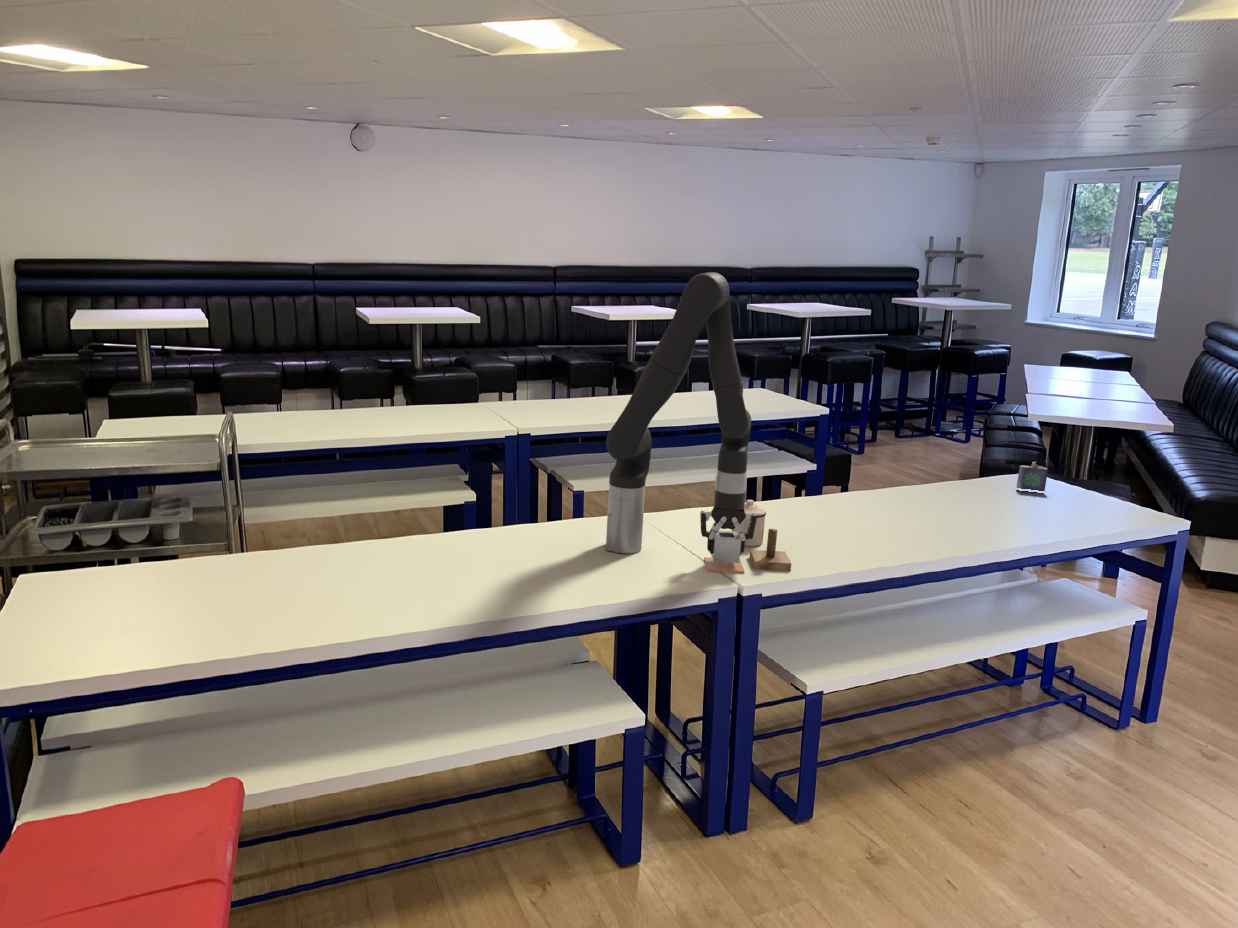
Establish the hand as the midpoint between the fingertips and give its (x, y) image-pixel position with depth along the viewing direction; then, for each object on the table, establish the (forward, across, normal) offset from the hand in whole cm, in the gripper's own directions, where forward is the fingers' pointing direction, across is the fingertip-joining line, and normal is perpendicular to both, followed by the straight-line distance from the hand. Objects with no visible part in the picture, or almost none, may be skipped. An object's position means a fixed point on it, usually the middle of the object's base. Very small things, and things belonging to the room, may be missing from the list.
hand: (725, 553), depth 230 cm
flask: (+4, +117, +94) cm, 150 cm away
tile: (+3, 0, 0) cm, 3 cm away
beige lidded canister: (+4, +8, +22) cm, 24 cm away
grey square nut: (+1, 0, 0) cm, 1 cm away
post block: (+4, +12, +4) cm, 13 cm away
